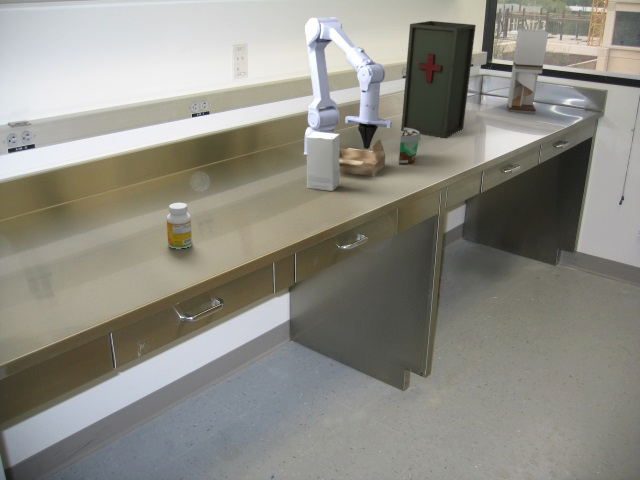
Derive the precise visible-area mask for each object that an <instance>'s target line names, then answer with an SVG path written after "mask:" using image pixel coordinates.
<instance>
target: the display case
mask: <svg viewBox="0 0 640 480" xmlns="http://www.w3.org/2000/svg"><path fill="white" fill-rule="evenodd" d="M549 34H550V33H549V32H548V31H547V32H546V30H545V29H531V28H518V29H517V34H516V43H515V47H514V48H515V49H514V50H515V51H514V54H513V55H514V57H513V61H512V69H511V77H510V83H509V90H508V97H507V103H506V109H507V111H508V113H511V112H515V114H516V113H517V114H526V113H529V114H531V115H536V112H537V111H536V110H537V109H536V107H535V106H534V101H535V95H536V89H537V84H538V77H539V74H540V75H542V74H543V68H544V62H545V56H546V50H547V43H548V38H549Z"/></svg>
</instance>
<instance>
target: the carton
mask: <svg viewBox="0 0 640 480" xmlns="http://www.w3.org/2000/svg"><path fill="white" fill-rule="evenodd" d="M339 158H341V159H349V160H356V161H363V162H365V163H364V164H363V165H361V166H358V165H351V164H344V163H339V173H346V174H352V175H358V176H359V175H360V176H367V177H372V178H373V177H375V176H377V175H378V173H379V172H381V170H383V168H385V165H386V154H385V155H384V156H383V157H382V158H381V159H380V160H379V161H377V162H376V159H375V157H374V154H373V151H372V150H368V149H359V148H358V149H357V148H352V147H351V148H350V147H347V149H346V148H340V156H339Z"/></svg>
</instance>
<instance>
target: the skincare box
mask: <svg viewBox="0 0 640 480" xmlns="http://www.w3.org/2000/svg"><path fill="white" fill-rule="evenodd" d="M340 137H341V134H340V133H335V132H334V133H322V132H313V133H312V134H310V135H309V136H308V137H307V155H306V188H307V189H312V190H322V191H327V192H328V191H329V192H333V191H334V190H336V189H337V187H338V186H339V185H340V172H339V156H340V146H341V145H340V140H341V138H340Z"/></svg>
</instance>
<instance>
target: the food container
mask: <svg viewBox="0 0 640 480" xmlns="http://www.w3.org/2000/svg"><path fill="white" fill-rule="evenodd" d="M421 139H422V138H421V134H420V133H419V131H417V130H415V129H411V128H404V131H402V134H401V135H400V139H399V140H400V141H399V142H400V144H399V156H398V157H399V158H398V166H410V165H414V164H415V163H416V158H417V153H418V152H417V151H418V146H419V141H421Z"/></svg>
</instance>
